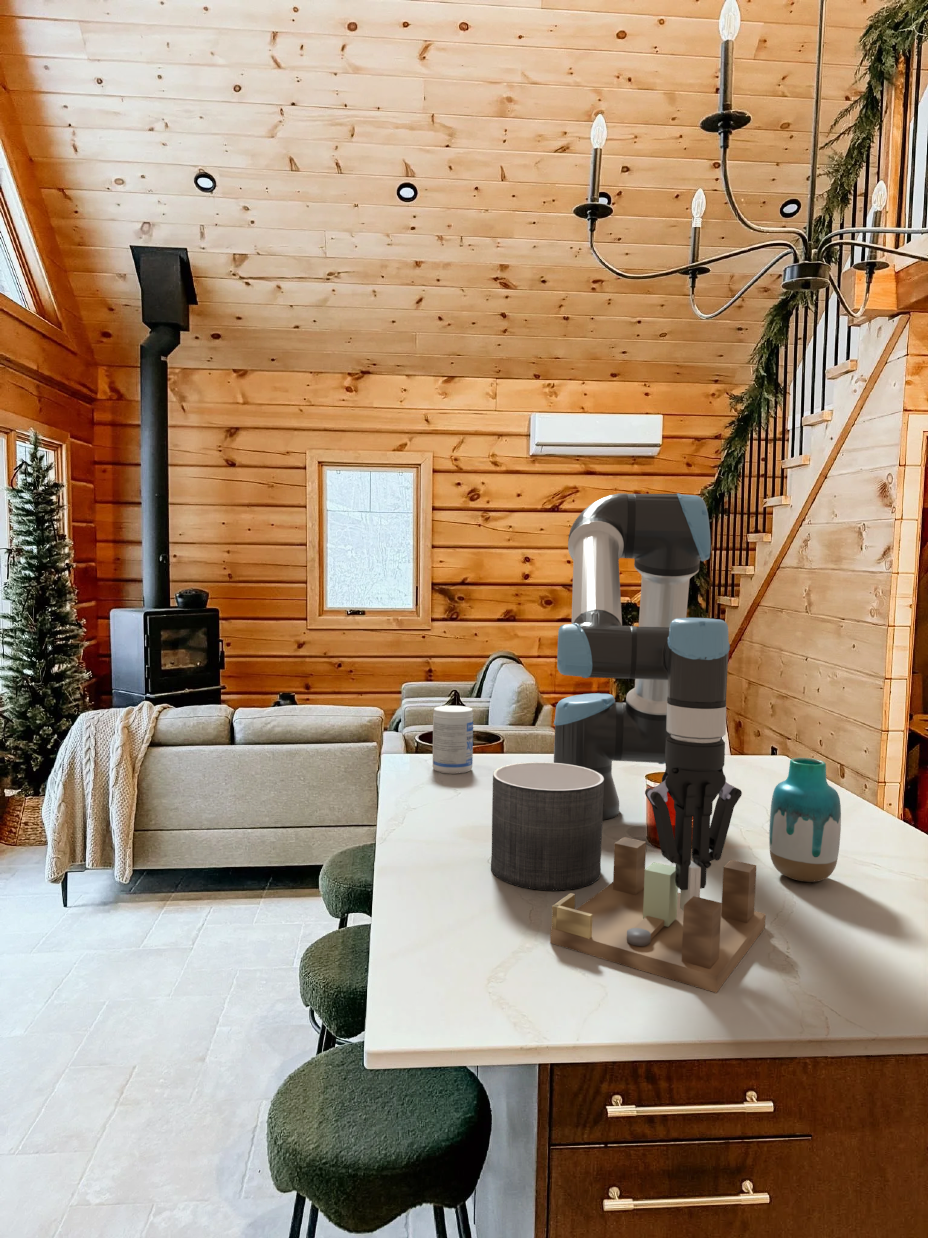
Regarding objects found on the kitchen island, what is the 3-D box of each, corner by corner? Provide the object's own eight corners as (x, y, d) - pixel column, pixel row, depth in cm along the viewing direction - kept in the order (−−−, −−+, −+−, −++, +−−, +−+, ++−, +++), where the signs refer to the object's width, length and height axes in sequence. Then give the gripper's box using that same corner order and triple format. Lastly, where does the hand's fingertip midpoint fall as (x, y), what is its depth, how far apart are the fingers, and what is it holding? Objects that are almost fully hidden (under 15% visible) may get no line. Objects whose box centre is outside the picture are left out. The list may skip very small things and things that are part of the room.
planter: (527, 899, 127) (530, 795, 126) (471, 861, 143) (473, 768, 142) (623, 881, 135) (627, 783, 134) (560, 846, 151) (563, 758, 150)
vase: (834, 871, 141) (841, 757, 140) (840, 895, 131) (847, 772, 130) (766, 862, 145) (772, 751, 143) (767, 885, 135) (773, 765, 133)
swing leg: (621, 941, 109) (623, 888, 108) (651, 911, 118) (653, 862, 118) (647, 949, 107) (649, 894, 106) (676, 917, 116) (678, 867, 116)
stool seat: (550, 943, 113) (552, 876, 112) (617, 891, 131) (619, 833, 130) (716, 993, 101) (719, 918, 100) (764, 927, 119) (768, 864, 118)
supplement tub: (476, 774, 200) (477, 711, 199) (436, 775, 198) (437, 712, 197) (467, 764, 209) (468, 704, 208) (429, 765, 207) (430, 705, 206)
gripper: (726, 729, 117) (720, 897, 119) (637, 732, 114) (632, 904, 116) (755, 741, 110) (748, 920, 111) (661, 744, 107) (655, 927, 109)
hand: (689, 912), depth 114 cm, fingers closed
